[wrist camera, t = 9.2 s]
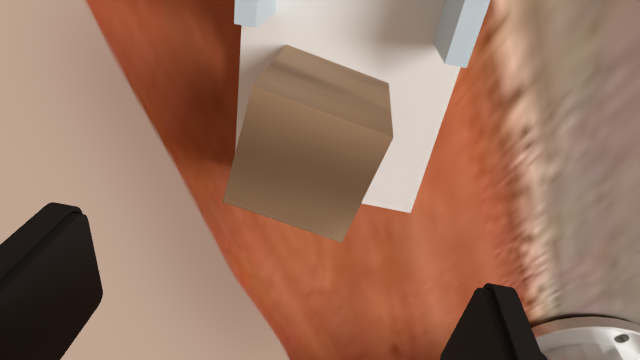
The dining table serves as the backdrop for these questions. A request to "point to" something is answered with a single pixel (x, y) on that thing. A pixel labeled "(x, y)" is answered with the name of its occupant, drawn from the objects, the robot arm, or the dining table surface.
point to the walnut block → (310, 143)
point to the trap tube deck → (373, 66)
